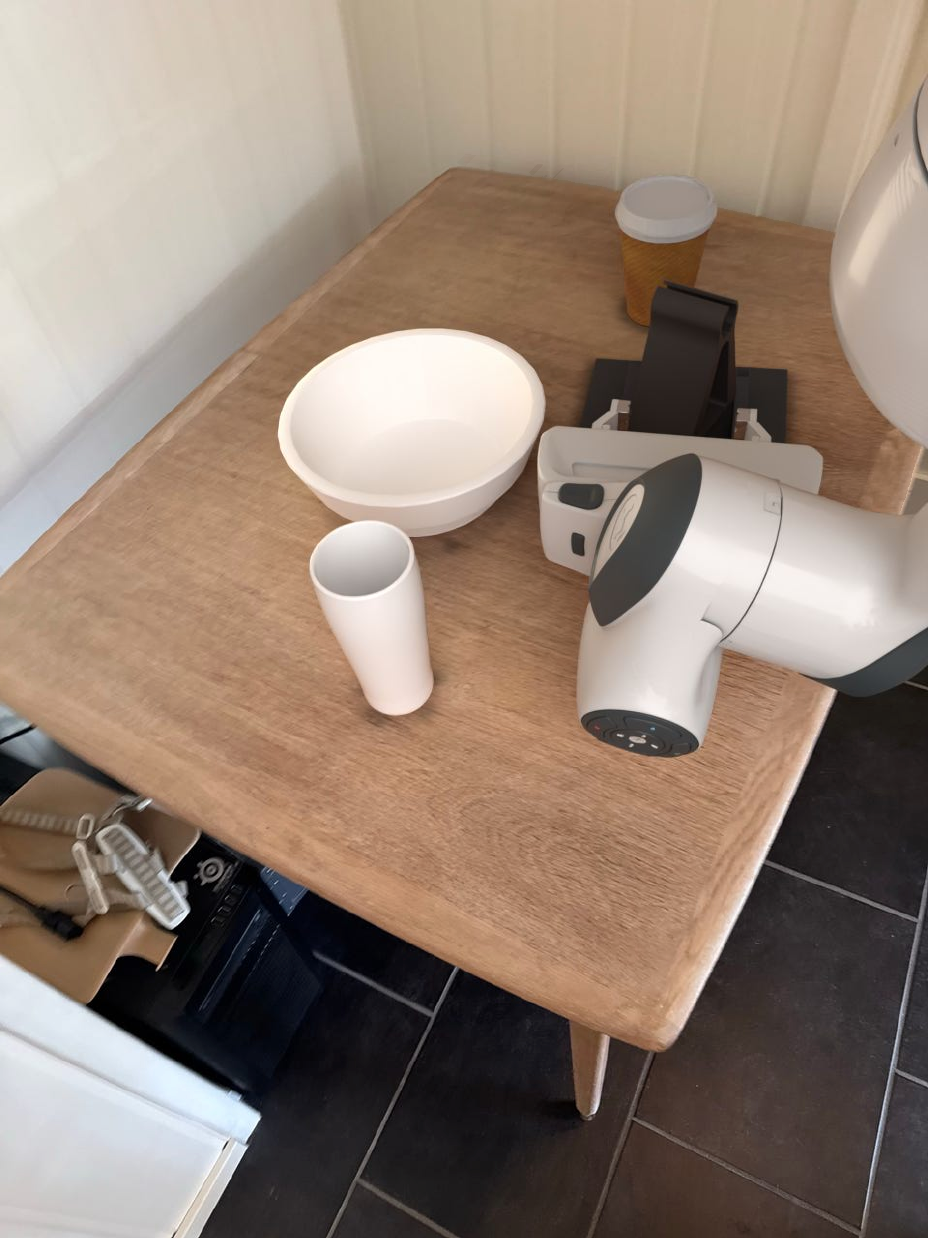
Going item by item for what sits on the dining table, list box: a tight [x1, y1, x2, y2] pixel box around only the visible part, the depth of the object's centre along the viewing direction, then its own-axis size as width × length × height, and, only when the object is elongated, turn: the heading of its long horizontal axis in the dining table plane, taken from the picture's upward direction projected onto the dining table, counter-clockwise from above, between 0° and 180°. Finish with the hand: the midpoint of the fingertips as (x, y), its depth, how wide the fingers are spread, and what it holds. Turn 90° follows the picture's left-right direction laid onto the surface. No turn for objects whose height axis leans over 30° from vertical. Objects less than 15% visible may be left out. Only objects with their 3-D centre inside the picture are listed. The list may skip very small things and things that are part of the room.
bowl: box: [277, 327, 547, 538], centre depth 76 cm, size 22×22×8 cm
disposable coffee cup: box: [614, 173, 718, 327], centre depth 87 cm, size 10×10×12 cm
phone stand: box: [626, 280, 739, 437], centre depth 72 cm, size 9×6×12 cm, turn 143°
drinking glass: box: [308, 520, 435, 716], centre depth 60 cm, size 7×7×15 cm
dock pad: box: [579, 357, 789, 444], centre depth 78 cm, size 18×20×3 cm
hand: (682, 410), depth 68 cm, fingers open, 8 cm apart
